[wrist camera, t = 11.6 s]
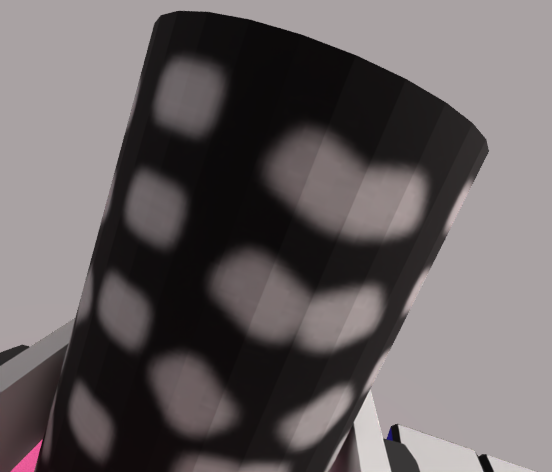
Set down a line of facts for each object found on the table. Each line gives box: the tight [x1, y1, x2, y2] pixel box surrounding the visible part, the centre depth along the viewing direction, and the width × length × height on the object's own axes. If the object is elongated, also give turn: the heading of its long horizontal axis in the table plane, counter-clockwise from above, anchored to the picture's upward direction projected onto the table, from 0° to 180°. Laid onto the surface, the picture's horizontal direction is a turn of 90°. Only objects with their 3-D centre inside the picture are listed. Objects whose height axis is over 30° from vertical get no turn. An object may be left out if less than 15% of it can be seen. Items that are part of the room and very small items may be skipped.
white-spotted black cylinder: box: [34, 11, 489, 472], centre depth 11 cm, size 8×8×20 cm
